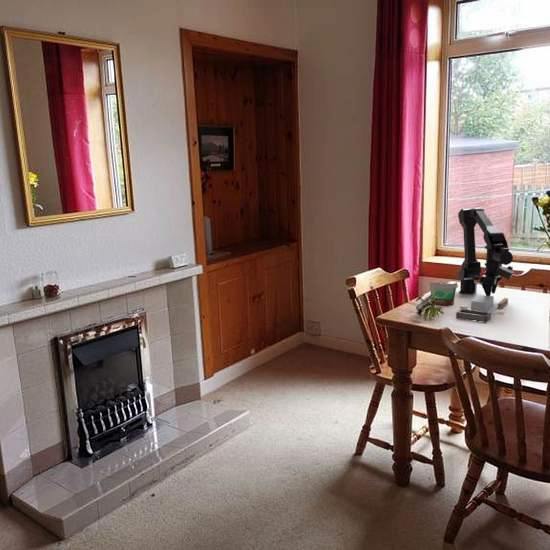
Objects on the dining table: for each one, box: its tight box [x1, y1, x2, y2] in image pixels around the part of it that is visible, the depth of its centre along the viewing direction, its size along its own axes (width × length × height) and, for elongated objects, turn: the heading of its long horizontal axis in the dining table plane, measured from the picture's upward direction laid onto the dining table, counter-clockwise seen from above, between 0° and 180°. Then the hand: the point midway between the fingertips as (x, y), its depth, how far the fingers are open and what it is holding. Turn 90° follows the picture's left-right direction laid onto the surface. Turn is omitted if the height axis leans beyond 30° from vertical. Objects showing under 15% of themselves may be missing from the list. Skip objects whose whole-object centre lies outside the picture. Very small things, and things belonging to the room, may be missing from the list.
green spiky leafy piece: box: [415, 294, 444, 321], centre depth 226 cm, size 11×11×12 cm
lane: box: [473, 297, 509, 310], centre depth 244 cm, size 12×11×2 cm
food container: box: [428, 280, 459, 307], centre depth 243 cm, size 12×6×10 cm, turn 71°
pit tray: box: [455, 308, 492, 323], centre depth 224 cm, size 12×6×2 cm, turn 55°
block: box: [470, 294, 495, 312], centre depth 236 cm, size 6×12×5 cm, turn 145°
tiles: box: [459, 304, 506, 315], centre depth 234 cm, size 18×3×1 cm, turn 55°
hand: (490, 295), depth 244 cm, fingers open, 8 cm apart
